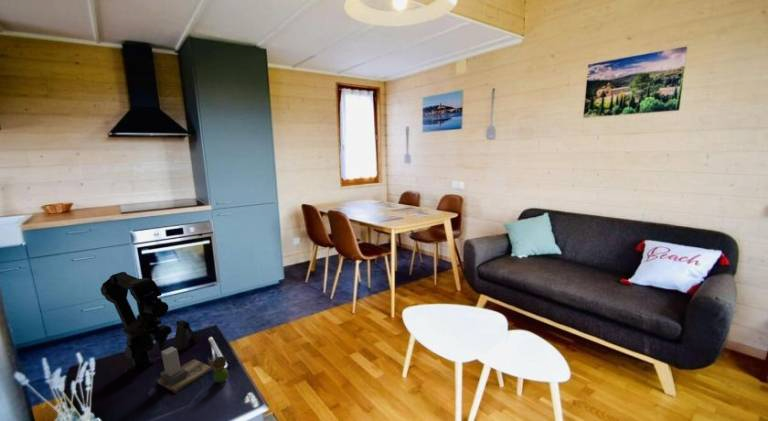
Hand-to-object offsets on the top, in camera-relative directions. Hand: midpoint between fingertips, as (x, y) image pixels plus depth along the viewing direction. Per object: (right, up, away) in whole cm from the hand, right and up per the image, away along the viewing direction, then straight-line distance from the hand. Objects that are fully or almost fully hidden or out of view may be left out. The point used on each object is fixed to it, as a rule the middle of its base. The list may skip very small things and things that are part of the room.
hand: (154, 346), depth 137 cm
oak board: (+11, -12, +2) cm, 17 cm away
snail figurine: (+28, -13, -2) cm, 31 cm away
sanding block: (+8, -12, -1) cm, 15 cm away
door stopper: (-1, -9, +24) cm, 25 cm away
